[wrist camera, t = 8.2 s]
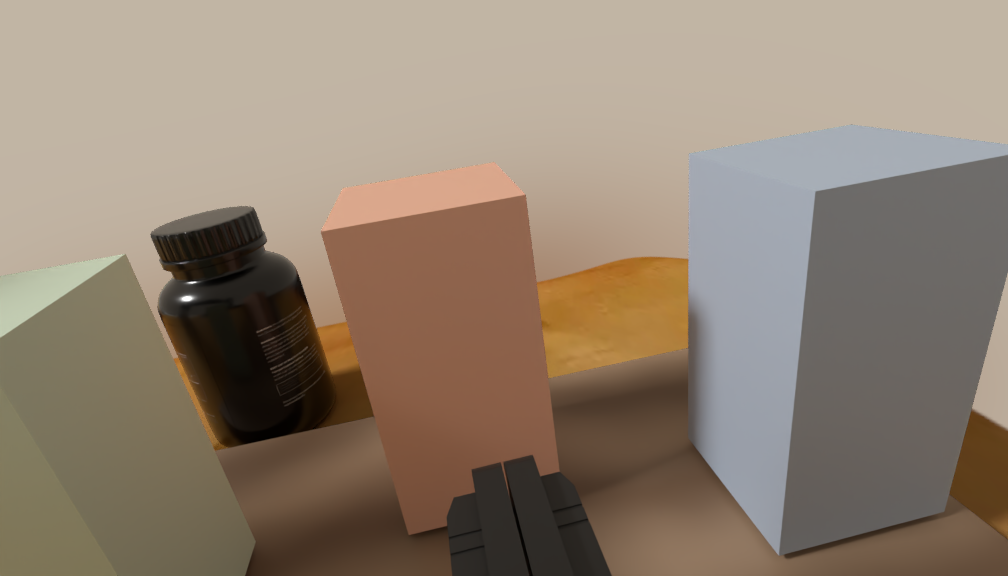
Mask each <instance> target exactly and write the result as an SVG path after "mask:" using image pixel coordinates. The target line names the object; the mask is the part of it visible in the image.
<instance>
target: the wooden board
mask: <svg viewBox="0 0 1008 576" xmlns="http://www.w3.org/2000/svg"><path fill="white" fill-rule="evenodd" d="M548 381H549V389H550V397H551V405H552V413H553V421H554V429H555V438H556V446H557V454H558V462H559V470H560V473H562V474H563V475H564V476H565V477H566V478H567V479H568V480H569V481H570V482H571V483H573V484H574V485H575V488H576V490H577V492H578V495H579V497H580V500H581V502H582V506H583V507H584V509H585V512H586V514H587V517H588V520H589V522H590V524H591V526H592V529H593V531H594V534H595V536H596V538H597V541H598V543H599V546H600V548H601V551H602V553H603V555H604V558H605V560H606V563H607V565H608V567H609V570H610V572H611V575H612V576H1008V540H1007V539H1006V538H1005V537H1004V536H1002V535H1001V534H1000V533H998V532H997V531H996V530H995V529H993V528H992V527H991V526H989V525H988V524H987V523H986V522H984V521H983V520H982V519H980V518H979V517H978V516H977V515H975V514H974V513H973V512H971V511H970V510H969V509H968V508H966V507H965V506H964V505H963V504H961V503H960V502H959V501H957V500H956V499H955V498H954V497H952V496H951V495H950V494H949V496H948V500H947V503H946V507H945V511H944V512H941V513H938V514H934V515H930V516H926V517H923V518H919V519H915V520H911V521H908V522H904V523H900V524H896V525H893V526H889V527H885V528H881V529H878V530H874V531H870V532H866V533H863V534H859V535H855V536H851V537H848V538H844V539H840V540H836V541H832V542H829V543H825V544H821V545H817V546H814V547H810V548H806V549H802V550H799V551H795V552H791V553H787V554H784V555H780V556H779V555H778V554H777V553H776V552H775V550H774V549H773V548H772V546H771V545H770V544H769V542H768V541H767V540H766V539H765V537H764V536H763V535H762V533H761V532H760V531H759V529H758V528H757V527H756V526H755V524H754V523H753V522H752V520H751V519H750V518H749V516H748V515H747V514H746V513H745V511H744V510H743V509H742V507H741V506H740V505H739V503H738V502H737V501H736V500H735V498H734V497H733V496H732V494H731V493H730V492H729V490H728V489H727V488H726V487H725V485H724V484H723V483H722V481H721V480H720V479H719V477H718V476H717V475H716V474H715V472H714V471H713V470H712V468H711V467H710V466H709V464H708V463H707V462H706V461H705V459H704V458H703V457H702V455H701V454H700V453H699V451H698V450H697V449H696V448H695V446H694V445H693V444H692V442H691V441H690V440H689V438H688V348H686V349H682V350H677V351H672V352H668V353H663V354H659V355H654V356H650V357H645V358H640V359H636V360H631V361H627V362H622V363H617V364H613V365H608V366H604V367H599V368H594V369H590V370H585V371H581V372H576V373H571V374H567V375H562V376H558V377H553V378H548ZM215 453H216V455H217V457H218V459H219V461H220V464H221V466H222V468H223V470H224V473H225V475H226V477H227V479H228V481H229V484H230V486H231V488H232V490H233V492H234V495H235V497H236V499H237V501H238V504H239V506H240V508H241V510H242V512H243V515H244V517H245V519H246V521H247V523H248V526H249V528H250V530H251V532H252V534H253V537H254V539H255V541H256V542H255V546H254V549H253V552H252V555H251V558H250V562H249V565H248V568H247V571H246V574H245V576H452V569H451V556H450V548H449V537H448V528H447V526H444V527H440V528H436V529H432V530H428V531H424V532H420V533H416V534H411V535H408V531H407V528H406V524H405V521H404V518H403V514H402V511H401V507H400V504H399V500H398V497H397V493H396V490H395V486H394V483H393V480H392V476H391V473H390V469H389V466H388V462H387V459H386V455H385V452H384V448H383V445H382V441H381V438H380V435H379V431H378V428H377V424H376V421H375V417H369V418H365V419H360V420H356V421H351V422H346V423H342V424H337V425H333V426H328V427H323V428H319V429H314V430H310V431H305V432H300V433H296V434H291V435H287V436H282V437H278V438H273V439H268V440H264V441H259V442H255V443H250V444H245V445H241V446H236V447H232V448H227V449H222V450H218V451H215Z"/></svg>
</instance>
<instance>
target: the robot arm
mask: <svg viewBox="0 0 1008 576" xmlns="http://www.w3.org/2000/svg"><path fill="white" fill-rule="evenodd" d="M503 464H504V469H505V475H506V480H507V485H508V489H507V485H506V481H505V477H504V473H503V469H502V465H501V462H499V463H495V464H491V465H487V466H483V467H479V468H475V469H471V470H472V477H473V482H474V488H475V492H474V493H470V494H466V495H462V496H458V497H454V498H453V501H452V504H451V506H450V509H449V512H448V514H447V528H448V537H449V548H450V556H451V569H452V576H612V575H611V572H610V570H609V567H608V565H607V563H606V560H605V558H604V555H603V553H602V551H601V548H600V546H599V543H598V541H597V538H596V536H595V534H594V531H593V529H592V526H591V524H590V522H589V520H588V517H587V514H586V512H585V509H584V507H583V506H582V502H581V500H580V497H579V495H578V492H577V490H576V488H575V485H574V484H573V483H571V482H570V481H569V480H568V479H567V478H566V477H565V476H564V475H563V474H562V473H560V472H556V473H552V474H548V475H544V476H540V474H539V471H538V468H537V465H536V462H535V459H534V457H533V455H529V456H525V457H521V458H516V459H512V460H508V461H504V462H503ZM508 490H509V493H508ZM509 496H510V497H509Z"/></svg>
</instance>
